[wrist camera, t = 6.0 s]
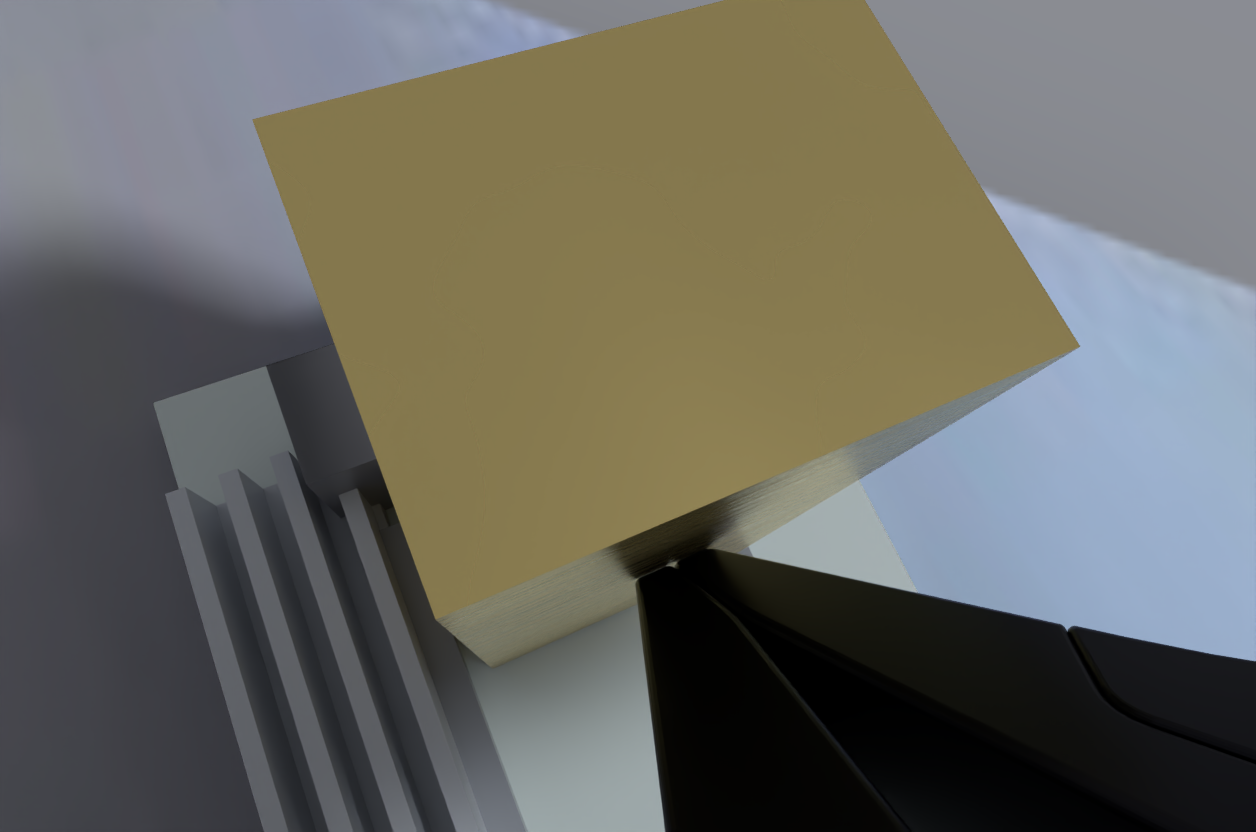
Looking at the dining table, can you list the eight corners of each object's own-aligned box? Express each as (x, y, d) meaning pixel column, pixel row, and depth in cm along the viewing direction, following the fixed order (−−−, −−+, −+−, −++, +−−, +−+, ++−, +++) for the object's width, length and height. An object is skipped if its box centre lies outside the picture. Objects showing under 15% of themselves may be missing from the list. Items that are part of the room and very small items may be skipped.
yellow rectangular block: (694, 578, 15) (1080, 345, 5) (493, 668, 14) (435, 619, 4) (571, 306, 17) (665, -321, 6) (380, 371, 16) (119, -245, 5)
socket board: (1086, 961, 15) (1275, 1050, 11) (461, 1377, 12) (437, 1686, 8) (713, 236, 19) (762, 125, 15) (170, 416, 16) (66, 334, 12)
